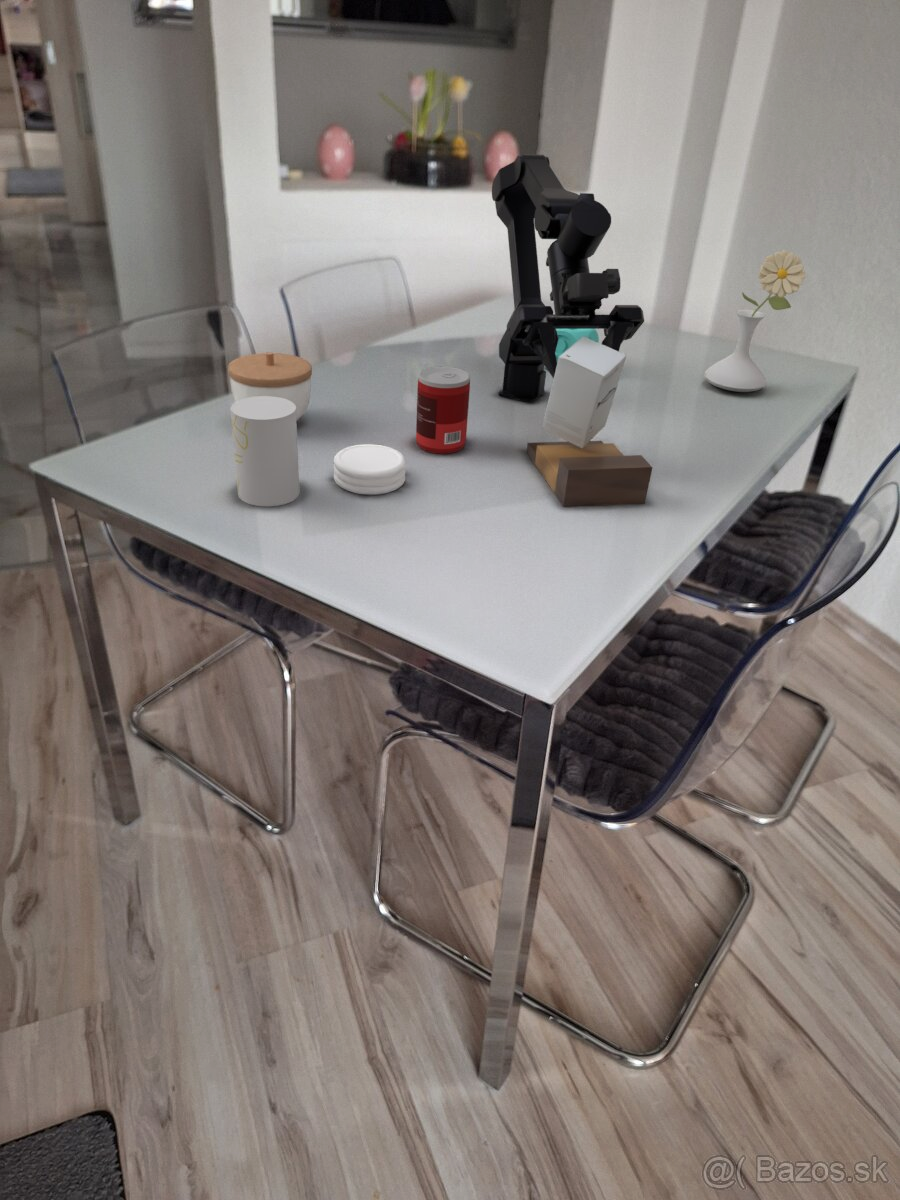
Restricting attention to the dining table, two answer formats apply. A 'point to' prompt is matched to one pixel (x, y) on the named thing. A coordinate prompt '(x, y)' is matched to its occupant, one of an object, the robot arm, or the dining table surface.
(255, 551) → the dining table surface
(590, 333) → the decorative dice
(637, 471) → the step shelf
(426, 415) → the canned food
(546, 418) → the white packaging box
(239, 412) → the cup
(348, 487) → the coaster
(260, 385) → the lidded bowl
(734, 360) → the flower in vase
